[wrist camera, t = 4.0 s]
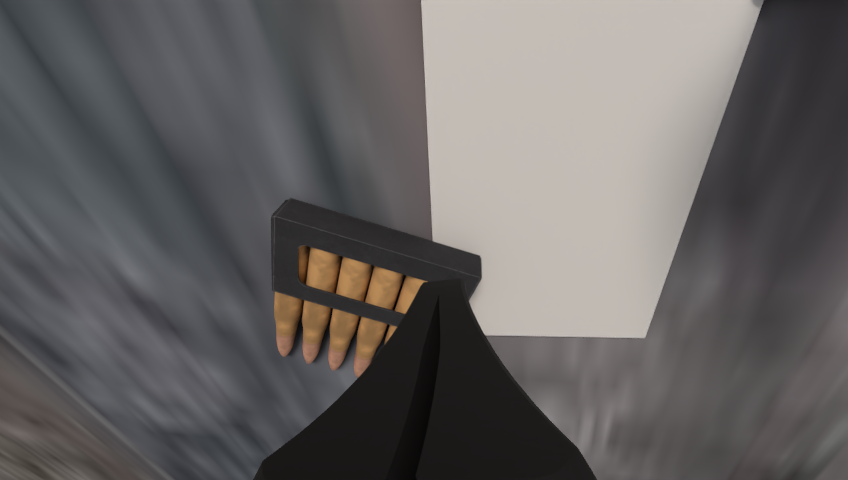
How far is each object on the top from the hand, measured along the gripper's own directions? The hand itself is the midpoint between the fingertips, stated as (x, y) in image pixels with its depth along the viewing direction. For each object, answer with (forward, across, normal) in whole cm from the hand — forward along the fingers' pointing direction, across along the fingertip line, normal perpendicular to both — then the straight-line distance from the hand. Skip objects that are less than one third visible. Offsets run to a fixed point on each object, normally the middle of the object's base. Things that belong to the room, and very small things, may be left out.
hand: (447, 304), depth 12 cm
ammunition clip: (+6, +4, 0) cm, 7 cm away
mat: (+8, -5, +1) cm, 9 cm away
